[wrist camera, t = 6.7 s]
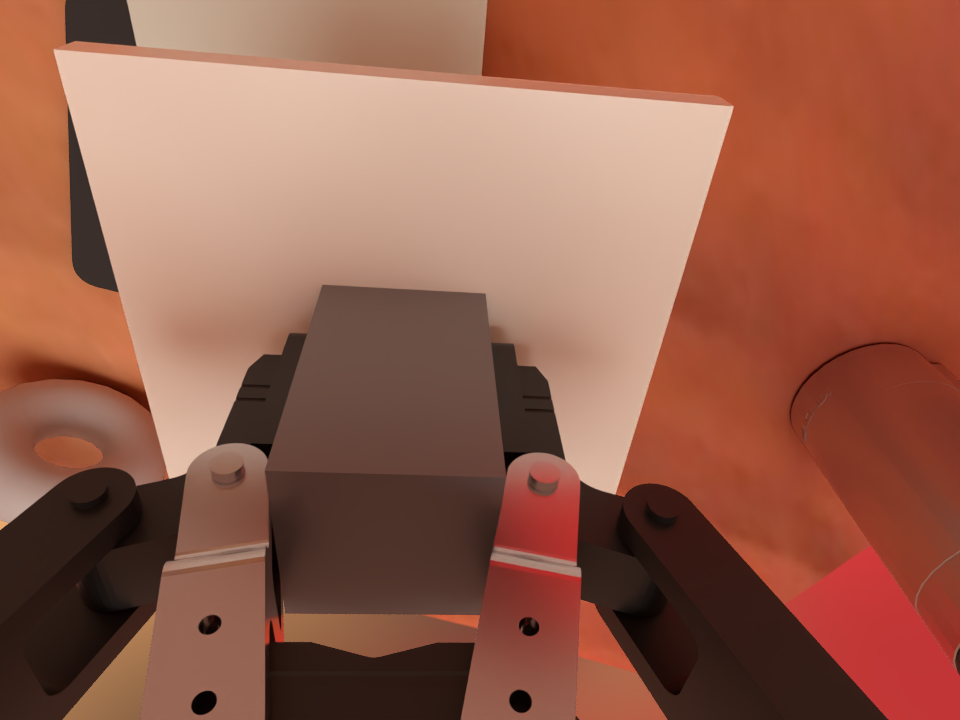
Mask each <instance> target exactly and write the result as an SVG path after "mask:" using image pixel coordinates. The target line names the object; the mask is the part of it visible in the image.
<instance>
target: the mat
mask: <svg viewBox="0 0 960 720" xmlns="http://www.w3.org/2000/svg"><path fill="white" fill-rule="evenodd" d="M127 3H128V8H129V13H130V17H131V22H132V27H133V31H134V36H135V41H136V45H137V46H139V47H151V48H162V49H174V50H186V51H197V52H209V53H221V54H233V55H244V56H256V57H268V58H279V59H291V60H303V61H314V62H326V63H338V64H350V65H361V66H373V67H385V68H396V69H408V70H420V71H431V72H443V73H455V74H467V75H478V76H482V64H483V51H484V38H485V26H486V13H487V0H127Z"/></svg>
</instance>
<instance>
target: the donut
mask: <svg viewBox="0 0 960 720" xmlns="http://www.w3.org/2000/svg"><path fill="white" fill-rule="evenodd" d="M56 436H70V437H75V438H80V439H83V440H86V441H88V442H90V443H92V444H93V445H95V446H96V447H97V448H99V449H100V450H101V452H102V453H103V459H102V461H101V462H99V463H98V464H96V465H92V466H88V467H85V468H67V467H61V466H56V465H54V464H52V463H49V462H47V461H45V460H43V459H42V458H41V457H40V456H38V455H37V454H36V452H35V450H34V446H35V445H36V444H37V443H38V442H40V441H42V440H44V439H47V438H52V437H56ZM101 467H110V468H117V469H121V470H123V471H125V472H127V473H129V474H130V475H131V476H132V477H133V479H134V481H135V483H136V486H137V485H142V484H147V483H152V482H157V481H162V480H163V479H164V474H165V469H166V465H165V461H164V457H163V454H162V450H161V446H160V443H159V439H158V435H157V431H156V428H155V424H154V420H153V417H152V415H151V413H150V412H149V411H148V410H146V409H145V408H144V407H143V406H141V405H140V404H139V403H137V402H136V401H135V400H134V399H132V398H131V397H129V396H127V395H125V394H122V393H120V392H118V391H116V390H114V389H111V388H109V387H107V386H103V385H99V384H95V383H91V382H86V381H82V380H64V379H48V380H41V381H35V382H28V383H22V384H19V385H17V386H14V387H12V388H9V389H7V390H4V391H2V392H0V520H1V521H4V522H7V523H10V522H11V521H12V520H14V519H15V518H16V517H17V516H19V515H20V514H21V513H22V512H24V511H25V510H26V509H27V508H29V507H30V506H31V505H32V504H34V503H35V502H36V501H37V500H38V499H40V498H41V497H42V496H43V495H45V494H46V493H47V492H48V491H50V490H51V489H52V488H53V487H55V486H56V485H57V484H59V483H60V482H61V481H63V480H64V479H66V478H68V477H70V476H72V475H74V474H76V473H79V472H82V471H85V470H89V469H93V468H101Z"/></svg>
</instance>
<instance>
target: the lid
mask: <svg viewBox="0 0 960 720" xmlns="http://www.w3.org/2000/svg"><path fill="white" fill-rule="evenodd" d="M53 50H54V54H55V58H56V62H57V65H58V69H59V73H60V76H61V80H62V84H63V87H64V91H65V95H66V99H67V102H68V106H69V110H70V113H71V117H72V121H73V124H74V128H75V132H76V136H77V139H78V143H79V147H80V150H81V154H82V158H83V161H84V165H85V169H86V172H87V176H88V180H89V184H90V187H91V191H92V195H93V198H94V202H95V206H96V209H97V213H98V217H99V221H100V224H101V228H102V232H103V235H104V239H105V243H106V246H107V250H108V254H109V258H110V261H111V265H112V269H113V272H114V276H115V280H116V283H117V287H118V291H119V295H120V298H121V302H122V306H123V309H124V313H125V317H126V320H127V324H128V328H129V332H130V335H131V339H132V343H133V346H134V350H135V354H136V357H137V361H138V365H139V369H140V372H141V376H142V380H143V383H144V387H145V391H146V394H147V398H148V402H149V406H150V409H151V413H152V417H153V420H154V424H155V428H156V431H157V435H158V439H159V443H160V446H161V450H162V454H163V457H164V461H165V465H166V468H167V472H168V476H169V479H171V478H175V477H178V476H181V475H183V474H186V473H187V469H188V468H189V466H190V464H191V463H192V462H193V460H194V459H195V458H196V457H198V456H199V455H200V454H202V453H203V452H205V451H207V450H209V449H211V448H213V447H216V444H217V442H218V440H219V437H220V435H221V432H222V430H223V428H224V425H225V423H226V420H227V418H228V415H229V413H230V411H231V408H232V406H233V403H234V401H236V396H237V394H238V391H239V389H240V387H241V386H242V385H241V384H242V382H243V379H244V377H245V374H246V372H247V370H248V368H249V367H250V366H251V365H252V364H253V363H254V362H256V361H257V360H258V359H259V358H260V357H261V356H262V355H264V354H271V355H282V352H283V349H284V346H285V343H286V341H287V338H288V335H289V333H307V336H306V339H305V342H304V346H303V349H302V352H301V355H300V358H299V362H298V365H297V368H296V371H295V374H294V378H293V381H292V384H291V387H290V391H289V394H288V397H287V400H286V403H285V407H284V410H283V413H282V416H281V419H280V423H279V426H278V429H277V432H276V435H275V439H274V442H273V445H272V448H271V452H270V455H269V458H268V461H267V464H266V468H265V478H266V484H267V491H268V498H269V505H270V511H271V518H272V525H273V532H274V539H275V545H276V552H277V559H278V566H279V573H280V579H281V586H282V593H283V600H284V607H285V613H305V614H306V613H307V614H308V613H309V614H315V613H316V614H436V615H480V613H481V607H482V602H483V597H484V591H485V586H486V580H487V575H488V570H489V564H490V559H491V554H492V550H493V546H494V541H495V535H496V530H497V524H498V519H499V514H500V508H501V505H502V501H503V495H504V489H505V482H506V470H505V462H504V453H503V444H502V435H501V426H500V417H499V409H498V400H497V391H496V382H495V373H494V364H493V355H492V347H491V342H492V343H513V344H514V347H515V353H516V359H517V365H518V366H536V367H537V369H538V370H539V371H540V372H541V373H542V374H543V376H544V377H545V378H546V379H547V380H548V383H549V388H550V392H551V400H552V401H553V406H554V413H555V415H556V419H557V424H558V428H559V433H560V437H561V442H562V446H563V451H564V455H565V460H566V462H568V463H569V464H570V465H571V466H572V467H573V468H574V469H575V470H576V472H577V474H578V475H579V479H580V480H581V481H582V482H584V483H585V484H587V485H589V486H591V487H593V488H595V489H598V490H601V491H604V492H608V493H611V494H616V491H617V487H618V484H619V481H620V478H621V474H622V471H623V468H624V465H625V461H626V458H627V455H628V451H629V448H630V445H631V442H632V438H633V435H634V432H635V429H636V425H637V422H638V419H639V415H640V412H641V409H642V406H643V402H644V399H645V396H646V393H647V389H648V386H649V383H650V379H651V376H652V373H653V370H654V366H655V363H656V360H657V357H658V353H659V350H660V347H661V343H662V340H663V337H664V334H665V330H666V327H667V324H668V321H669V317H670V314H671V311H672V307H673V304H674V301H675V298H676V294H677V291H678V288H679V285H680V281H681V278H682V275H683V271H684V268H685V265H686V262H687V258H688V255H689V252H690V249H691V245H692V242H693V239H694V235H695V232H696V229H697V226H698V222H699V219H700V216H701V213H702V209H703V206H704V203H705V199H706V196H707V193H708V190H709V186H710V183H711V180H712V177H713V173H714V170H715V167H716V163H717V160H718V157H719V154H720V150H721V147H722V144H723V141H724V137H725V134H726V131H727V127H728V124H729V121H730V118H731V114H732V111H733V108H734V106H732V105H731V104H729V103H728V102H727V101H725V100H724V99H722V98H721V97H719V96H712V95H700V94H689V93H677V92H665V91H654V90H642V89H630V88H619V87H607V86H595V85H584V84H572V83H560V82H548V81H537V80H525V79H513V78H502V77H490V76H478V75H467V74H455V73H443V72H431V71H420V70H408V69H396V68H385V67H373V66H361V65H350V64H338V63H326V62H314V61H303V60H291V59H279V58H268V57H256V56H244V55H233V54H221V53H209V52H197V51H186V50H174V49H162V48H151V47H139V46H127V45H116V44H104V43H92V42H81V41H74V42H71V43H69V44H66V45H63V46H61V47H58V48H56V49H53Z"/></svg>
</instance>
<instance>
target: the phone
mask: <svg viewBox="0 0 960 720" xmlns="http://www.w3.org/2000/svg"><path fill="white" fill-rule="evenodd" d="M65 24H66V44H69V43H71V42H74V41H81V42H92V43H104V44H116V45H127V46H137V45H136V41H135V36H134V31H133V27H132V22H131V17H130V13H129V8H128V3H127V0H66V4H65ZM68 130H69V165H70V200H71V235H72V262H73V267H74V270H75V272H76V273H77V275H78V276H79V277H80V278H81V279H82V280H83V281H85V282H86V283H88V284H90V285H93V286H96V287H99V288H103V289H108V290H112V291H116V292H119V291H118V287H117V283H116V280H115V276H114V272H113V269H112V265H111V261H110V258H109V254H108V250H107V246H106V243H105V239H104V235H103V232H102V228H101V224H100V221H99V217H98V213H97V209H96V206H95V202H94V198H93V195H92V191H91V187H90V184H89V180H88V176H87V172H86V169H85V165H84V161H83V158H82V154H81V150H80V147H79V143H78V139H77V136H76V132H75V128H74V124H73V121H72V117H71V113H70V110H69V106H68Z"/></svg>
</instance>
